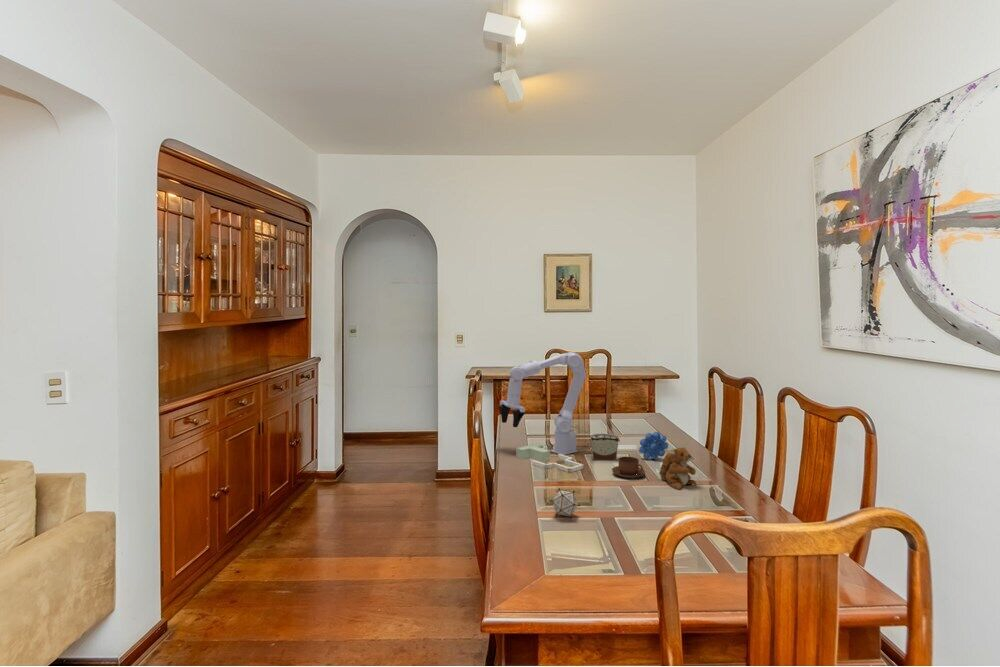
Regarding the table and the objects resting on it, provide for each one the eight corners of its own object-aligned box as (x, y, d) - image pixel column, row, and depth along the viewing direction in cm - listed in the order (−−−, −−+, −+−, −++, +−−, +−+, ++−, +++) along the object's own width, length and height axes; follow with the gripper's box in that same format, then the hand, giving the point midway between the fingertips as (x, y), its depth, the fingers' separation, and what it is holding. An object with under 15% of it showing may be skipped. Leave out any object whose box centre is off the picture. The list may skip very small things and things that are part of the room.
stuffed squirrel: (679, 490, 176) (679, 452, 175) (651, 478, 188) (651, 443, 188) (700, 486, 180) (701, 449, 180) (671, 475, 193) (671, 440, 192)
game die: (559, 526, 155) (546, 495, 160) (584, 515, 156) (571, 485, 160) (558, 522, 147) (545, 490, 152) (585, 511, 148) (571, 479, 153)
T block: (537, 452, 225) (537, 443, 225) (556, 458, 215) (556, 448, 215) (516, 457, 217) (516, 447, 217) (535, 463, 208) (535, 453, 208)
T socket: (559, 457, 217) (559, 453, 216) (590, 466, 203) (590, 463, 203) (532, 464, 207) (532, 460, 207) (562, 474, 194) (562, 470, 193)
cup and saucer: (648, 473, 195) (648, 457, 195) (640, 482, 185) (640, 465, 185) (616, 468, 201) (617, 453, 201) (608, 477, 190) (608, 461, 190)
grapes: (668, 458, 214) (668, 430, 214) (667, 463, 208) (668, 433, 208) (639, 456, 219) (640, 428, 218) (638, 460, 212) (638, 431, 212)
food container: (617, 456, 217) (618, 433, 217) (619, 461, 211) (620, 437, 211) (588, 456, 218) (588, 433, 218) (589, 460, 212) (589, 436, 212)
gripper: (496, 390, 226) (492, 420, 227) (518, 397, 215) (513, 429, 216) (508, 390, 231) (504, 420, 231) (530, 397, 220) (525, 428, 220)
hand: (509, 424), depth 224 cm, fingers open, 7 cm apart
